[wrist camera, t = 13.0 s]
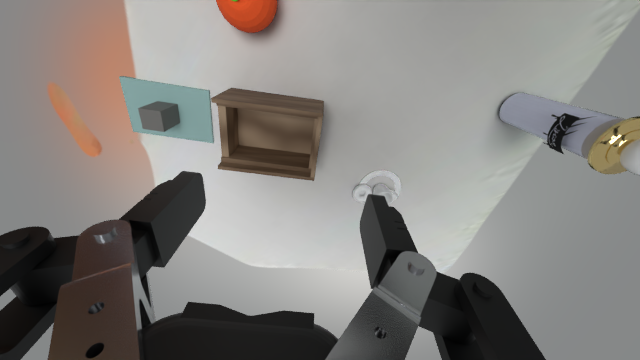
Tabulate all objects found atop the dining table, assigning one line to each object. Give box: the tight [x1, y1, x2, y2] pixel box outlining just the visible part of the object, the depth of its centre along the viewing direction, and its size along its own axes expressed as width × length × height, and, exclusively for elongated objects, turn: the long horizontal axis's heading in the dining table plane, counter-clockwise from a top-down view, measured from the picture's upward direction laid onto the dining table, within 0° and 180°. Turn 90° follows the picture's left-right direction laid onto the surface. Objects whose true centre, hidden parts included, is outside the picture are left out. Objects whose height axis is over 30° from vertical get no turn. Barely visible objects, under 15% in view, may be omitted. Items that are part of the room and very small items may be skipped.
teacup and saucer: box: [352, 170, 401, 205], centre depth 43 cm, size 9×8×4 cm
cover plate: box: [119, 76, 214, 143], centre depth 36 cm, size 8×13×5 cm, turn 81°
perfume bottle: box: [500, 93, 640, 176], centre depth 28 cm, size 6×6×20 cm
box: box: [211, 88, 323, 181], centre depth 35 cm, size 10×14×7 cm
